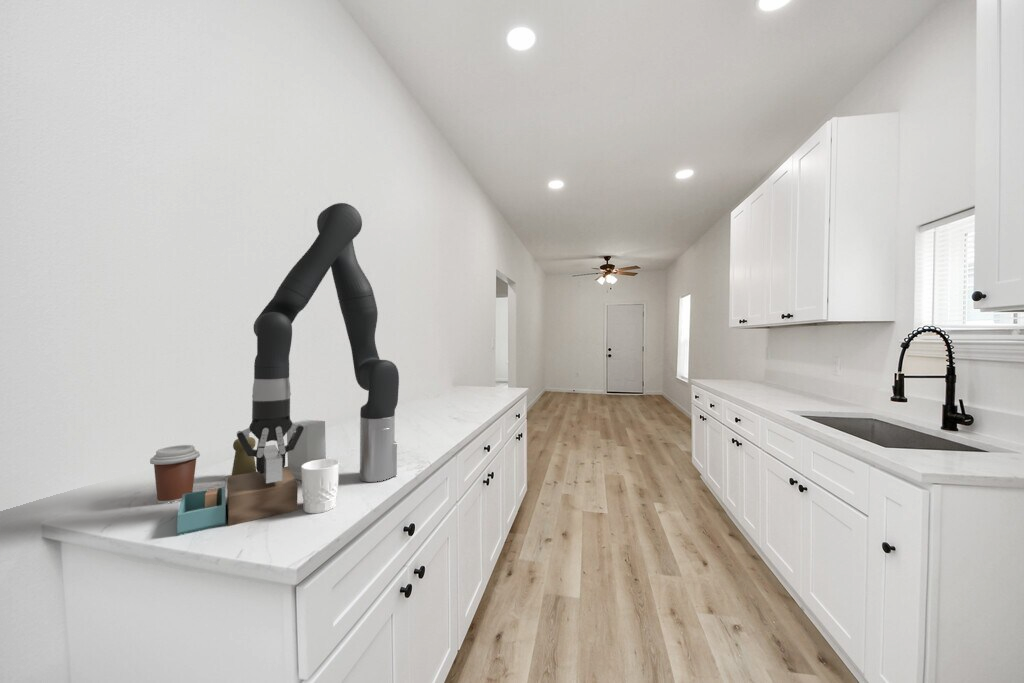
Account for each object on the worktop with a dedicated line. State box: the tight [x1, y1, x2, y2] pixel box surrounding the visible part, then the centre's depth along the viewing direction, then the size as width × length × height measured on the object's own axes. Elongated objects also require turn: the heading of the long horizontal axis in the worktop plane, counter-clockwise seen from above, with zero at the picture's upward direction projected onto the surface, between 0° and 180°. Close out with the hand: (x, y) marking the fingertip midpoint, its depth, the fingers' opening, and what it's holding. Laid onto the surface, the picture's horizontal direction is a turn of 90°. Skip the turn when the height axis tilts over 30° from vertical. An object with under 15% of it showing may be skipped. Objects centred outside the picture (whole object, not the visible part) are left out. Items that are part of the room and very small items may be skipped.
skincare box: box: [286, 418, 327, 481], centre depth 108 cm, size 8×7×16 cm
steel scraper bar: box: [263, 444, 282, 483], centre depth 89 cm, size 3×14×5 cm, turn 38°
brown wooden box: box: [226, 465, 299, 527], centre depth 88 cm, size 12×15×6 cm
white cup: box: [301, 458, 340, 514], centre depth 88 cm, size 8×8×10 cm
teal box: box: [176, 486, 227, 536], centre depth 82 cm, size 8×13×4 cm, turn 38°
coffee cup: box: [149, 444, 201, 504], centre depth 92 cm, size 9×9×12 cm
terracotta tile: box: [205, 487, 220, 508], centre depth 85 cm, size 4×4×2 cm
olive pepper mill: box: [230, 436, 257, 476], centre depth 107 cm, size 6×6×11 cm
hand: (270, 470), depth 89 cm, fingers closed on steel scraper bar, 3 cm apart
